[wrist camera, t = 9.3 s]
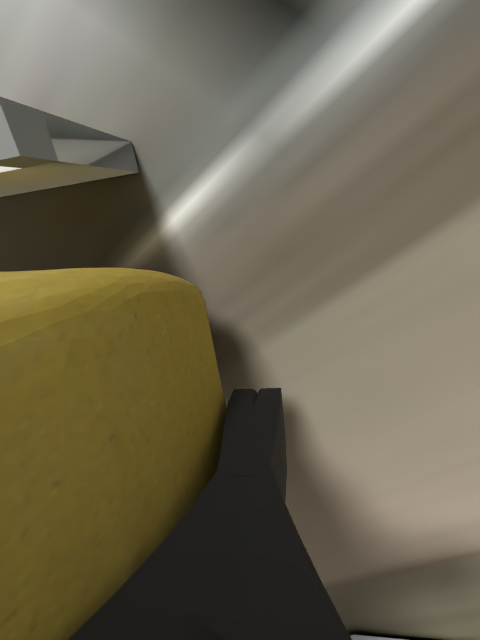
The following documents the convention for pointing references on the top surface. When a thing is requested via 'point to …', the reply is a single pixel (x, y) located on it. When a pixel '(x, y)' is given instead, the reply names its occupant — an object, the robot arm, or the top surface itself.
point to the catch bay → (55, 151)
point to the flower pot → (97, 434)
